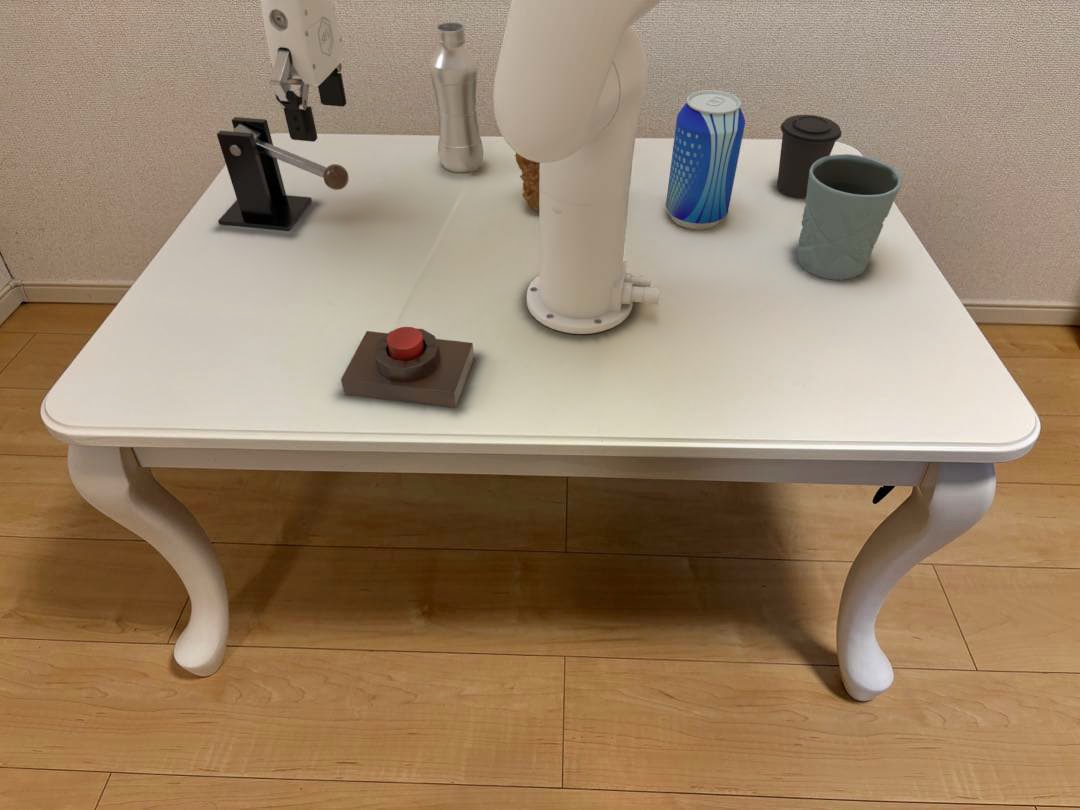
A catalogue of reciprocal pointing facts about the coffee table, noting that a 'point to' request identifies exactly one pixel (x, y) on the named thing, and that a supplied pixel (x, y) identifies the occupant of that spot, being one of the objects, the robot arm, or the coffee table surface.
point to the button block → (409, 371)
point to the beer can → (704, 158)
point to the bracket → (257, 182)
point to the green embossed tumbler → (844, 214)
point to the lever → (301, 161)
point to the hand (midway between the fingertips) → (319, 121)
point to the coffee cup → (803, 150)
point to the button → (405, 343)
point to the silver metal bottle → (456, 100)
